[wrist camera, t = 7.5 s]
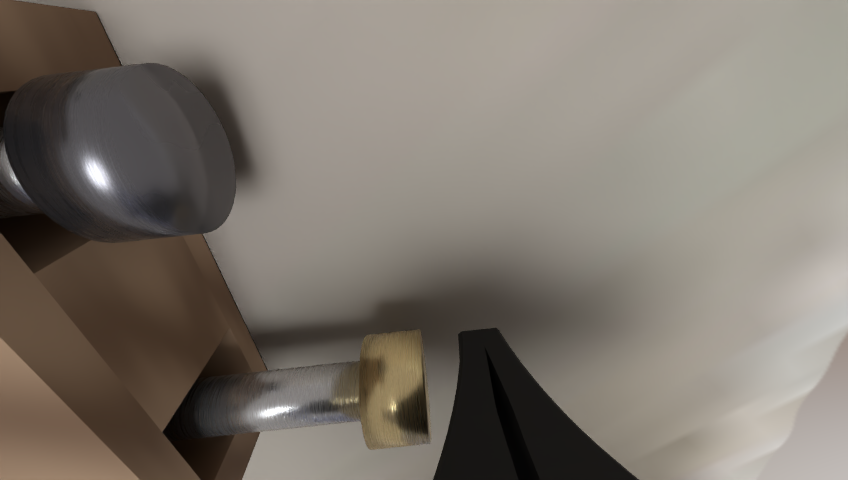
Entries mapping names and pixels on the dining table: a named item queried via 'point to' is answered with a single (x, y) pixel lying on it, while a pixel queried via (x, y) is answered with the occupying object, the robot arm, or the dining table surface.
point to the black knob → (116, 154)
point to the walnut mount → (104, 316)
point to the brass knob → (319, 397)
